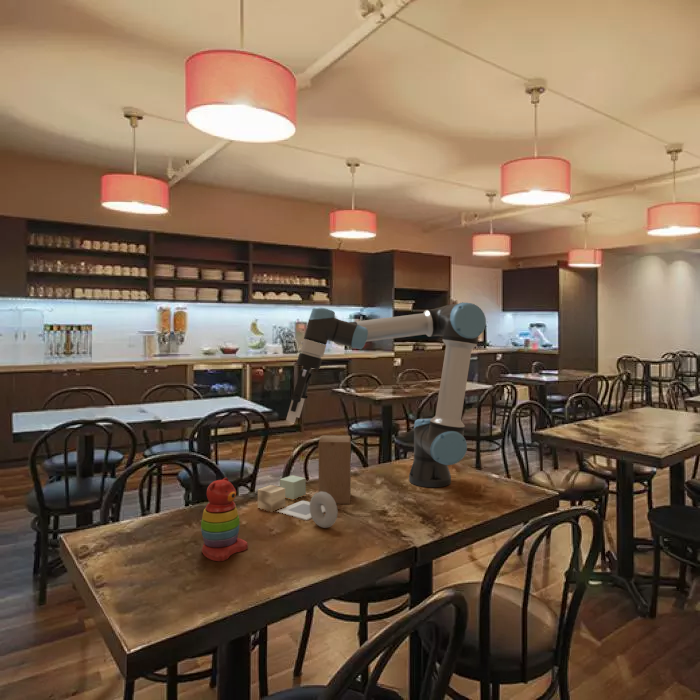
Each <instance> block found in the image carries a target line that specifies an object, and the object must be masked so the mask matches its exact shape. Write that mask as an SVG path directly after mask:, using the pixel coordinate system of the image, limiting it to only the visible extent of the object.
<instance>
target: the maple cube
mask: <svg viewBox="0 0 700 700" xmlns="http://www.w3.org/2000/svg"><path fill="white" fill-rule="evenodd" d="M282 507H286V499H285V488H282V487H280V486H278V485H273V484H269V485H267V486H264V487H261V488H259V489H257V509H258V508H260V509H259V510H262V509H264V510H263V511H265V510H266V512H269V511H270V513H274V512H276V511H275V510H277V509H280V508H282ZM273 511H274V512H273Z"/></svg>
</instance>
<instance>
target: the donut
mask: <svg viewBox="0 0 700 700" xmlns="http://www.w3.org/2000/svg"><path fill="white" fill-rule="evenodd" d="M309 502H310V514H311V517H312V518H311V519H312V521H313V522H314V523H315V524H316V525H317V526H318V527H319V528H324V529H327V528H330V527H332V526H333V525H334V524H335V523H336V521H337V518H338V512H339V511H338V506H337V505H338V504H336V502H335V500H334V499H333V497H332V496H331V495H330V494H328V493H327V492H322V491H320V492H319V491H318V492H316V493H314V495H313V496H312V497H311V499H310V501H309ZM321 505H323V506H324V507H325V512H324V513H325V514H324V513H323V512H322V509H321Z"/></svg>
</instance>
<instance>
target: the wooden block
mask: <svg viewBox="0 0 700 700" xmlns="http://www.w3.org/2000/svg"><path fill="white" fill-rule="evenodd" d="M351 438H352V437H351V435H325V434H324V435H320V438H319V439H318V440H319V441H318V492H320V491H322V492H327V493H328V494H330V495H331V496H332V497H333V499H334V500H335V502H336V505H349V504H351V491H352V490H351V486H352V485H351V477H352V476H351V475H352V474H351V466H352V465H351V464H352V463H351V451H352V450H351V447H352V445H351V442H352V440H351Z"/></svg>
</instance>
